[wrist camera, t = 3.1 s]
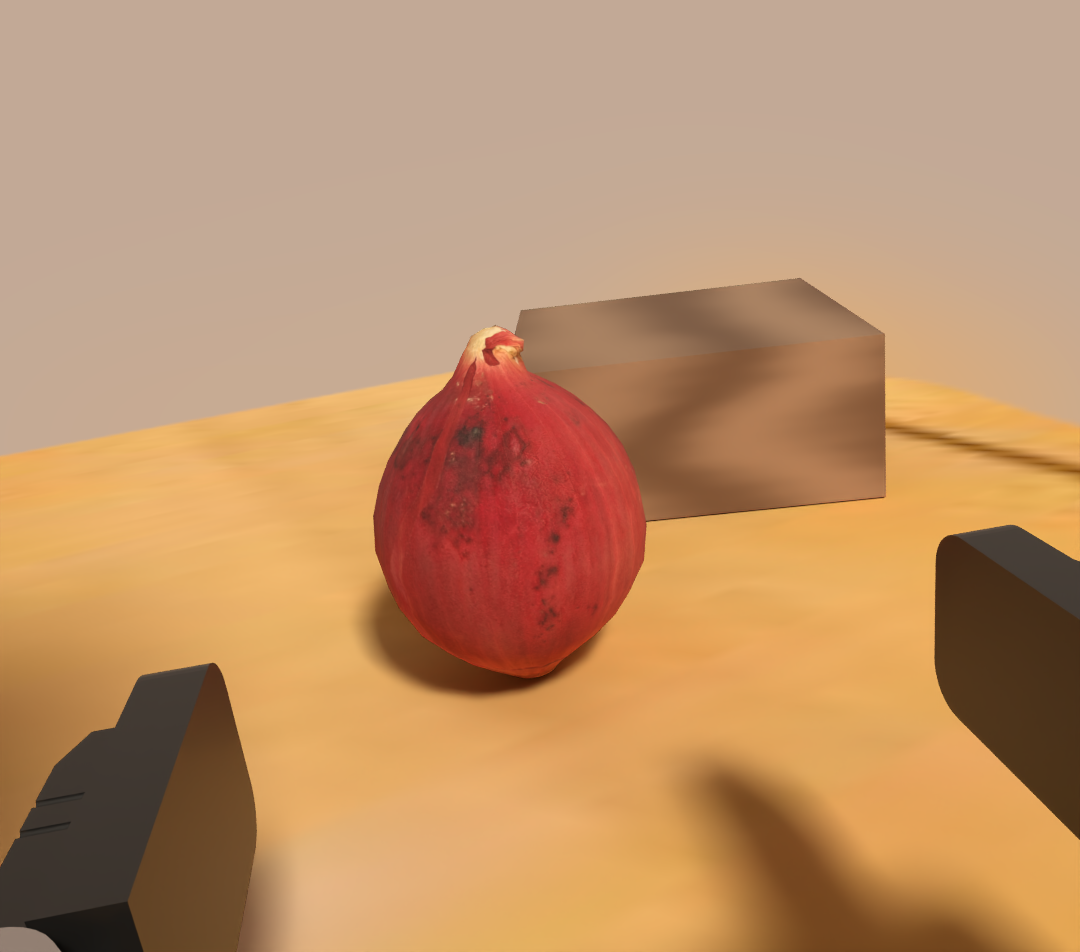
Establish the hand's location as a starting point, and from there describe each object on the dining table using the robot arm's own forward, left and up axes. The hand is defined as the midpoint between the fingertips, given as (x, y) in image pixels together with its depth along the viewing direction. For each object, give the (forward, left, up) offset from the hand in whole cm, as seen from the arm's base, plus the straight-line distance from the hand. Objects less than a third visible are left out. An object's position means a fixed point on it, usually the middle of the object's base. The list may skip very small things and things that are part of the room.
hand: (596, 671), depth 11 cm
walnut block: (+3, +24, -6) cm, 25 cm away
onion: (-2, +10, -6) cm, 12 cm away
